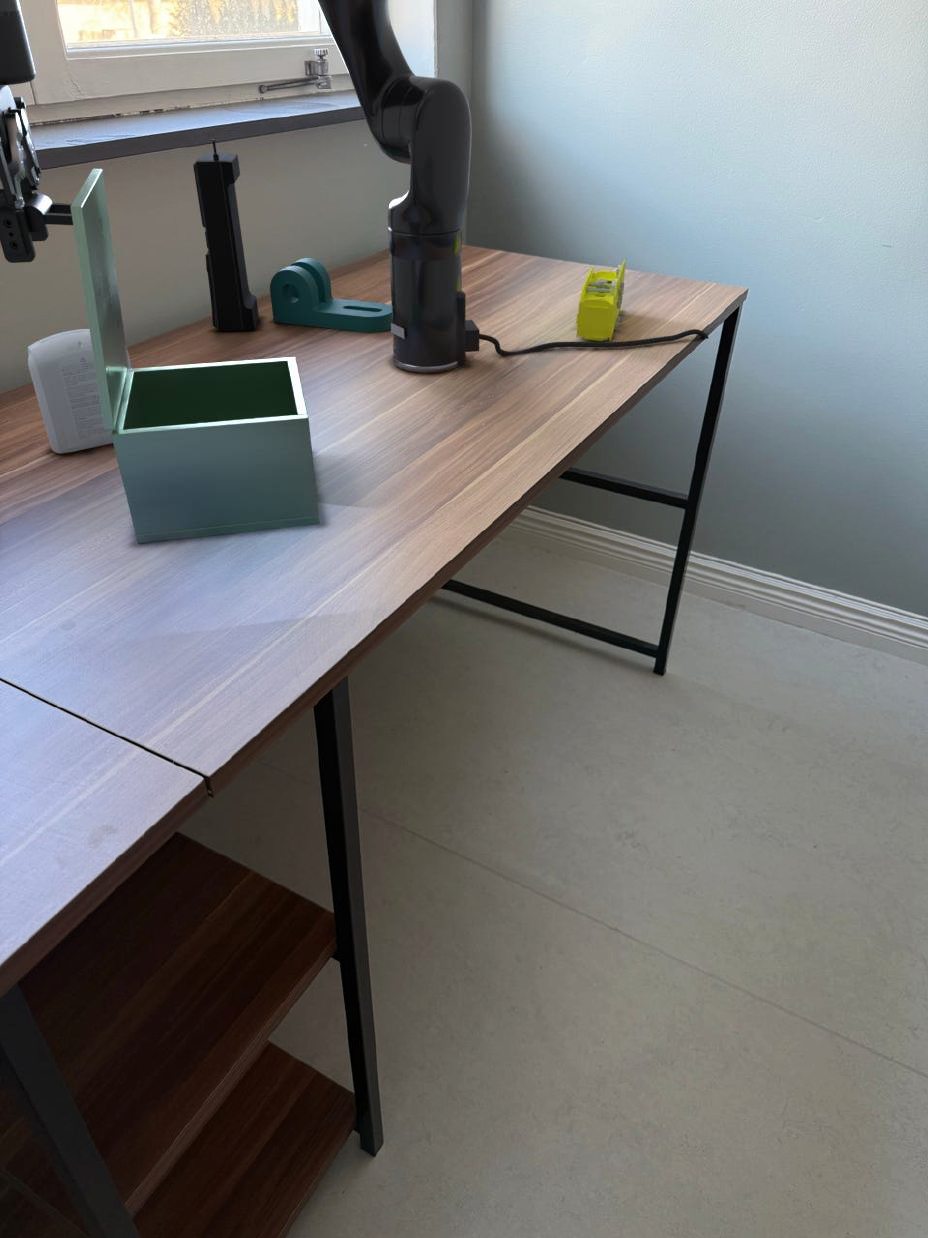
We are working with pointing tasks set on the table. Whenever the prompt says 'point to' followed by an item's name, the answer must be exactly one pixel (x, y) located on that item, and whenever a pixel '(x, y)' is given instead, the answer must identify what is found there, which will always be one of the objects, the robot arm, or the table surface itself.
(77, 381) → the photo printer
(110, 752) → the table surface
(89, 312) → the lid
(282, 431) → the box
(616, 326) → the yellow toy chassis
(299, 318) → the bracket
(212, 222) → the portable radio
